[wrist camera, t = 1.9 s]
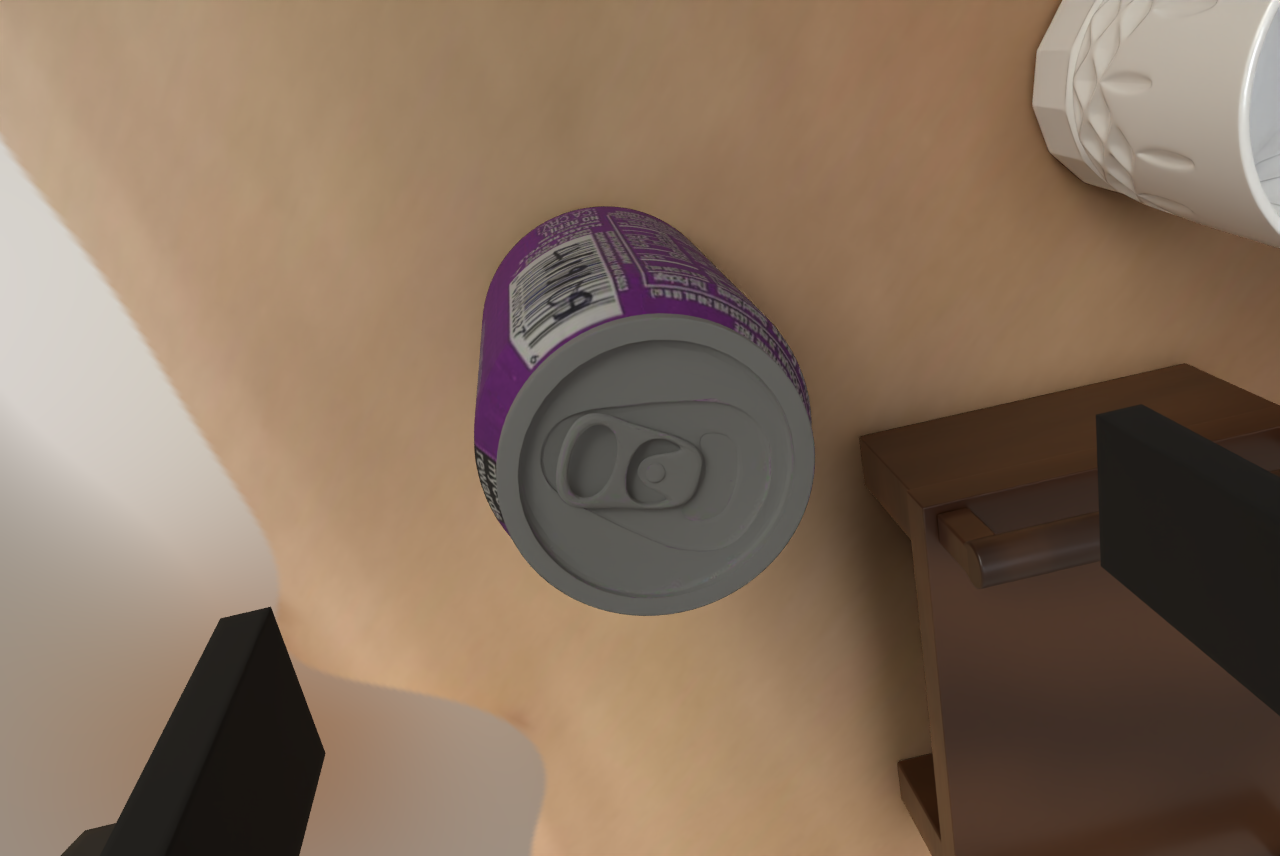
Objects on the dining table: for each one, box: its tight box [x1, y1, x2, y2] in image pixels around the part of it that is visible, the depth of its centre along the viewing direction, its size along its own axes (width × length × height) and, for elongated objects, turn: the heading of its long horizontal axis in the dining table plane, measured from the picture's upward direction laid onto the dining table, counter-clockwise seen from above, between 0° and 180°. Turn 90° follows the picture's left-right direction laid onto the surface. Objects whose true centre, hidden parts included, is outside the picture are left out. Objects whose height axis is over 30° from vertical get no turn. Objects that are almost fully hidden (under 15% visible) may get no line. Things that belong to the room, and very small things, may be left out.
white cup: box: [1032, 0, 1280, 249], centre depth 25 cm, size 8×8×10 cm
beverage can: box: [474, 207, 815, 616], centre depth 25 cm, size 7×7×12 cm
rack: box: [859, 364, 1280, 856], centre depth 32 cm, size 16×12×9 cm
